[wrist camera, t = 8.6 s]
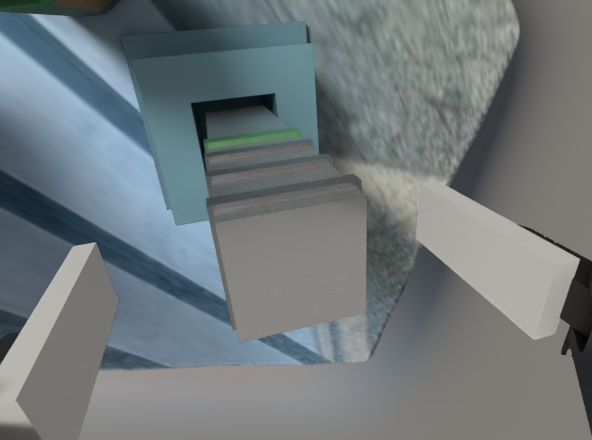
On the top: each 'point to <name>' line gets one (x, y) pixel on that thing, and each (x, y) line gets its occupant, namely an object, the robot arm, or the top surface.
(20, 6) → the bottle
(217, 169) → the column
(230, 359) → the top surface
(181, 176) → the stand base
